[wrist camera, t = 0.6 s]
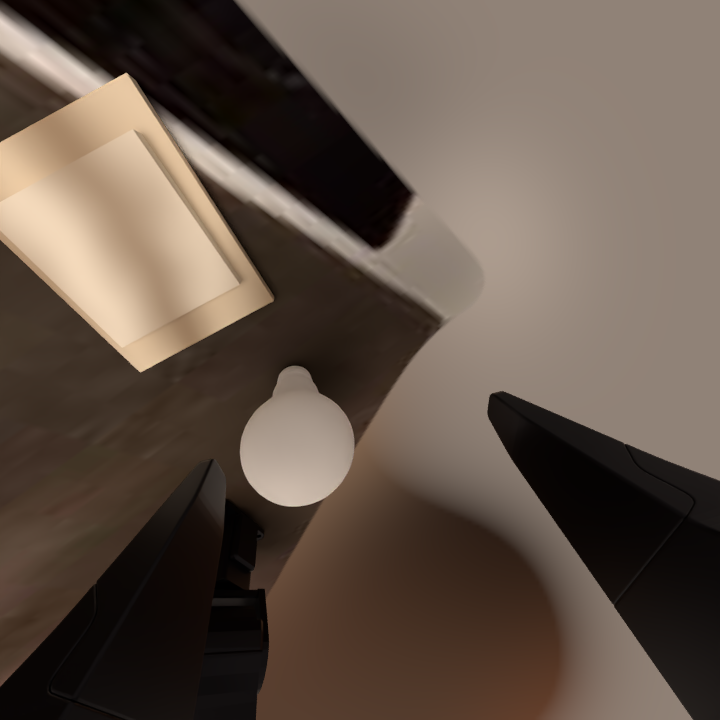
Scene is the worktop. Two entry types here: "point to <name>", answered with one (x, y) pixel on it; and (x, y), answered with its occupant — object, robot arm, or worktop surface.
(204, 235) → the base
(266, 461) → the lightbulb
